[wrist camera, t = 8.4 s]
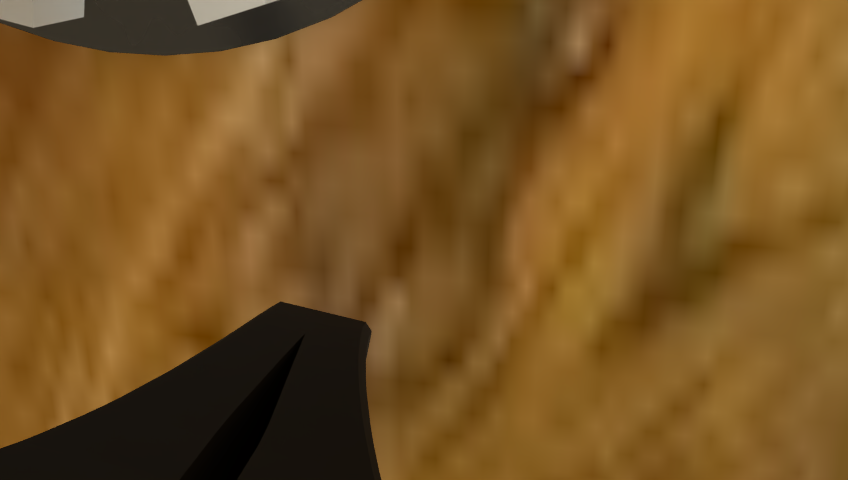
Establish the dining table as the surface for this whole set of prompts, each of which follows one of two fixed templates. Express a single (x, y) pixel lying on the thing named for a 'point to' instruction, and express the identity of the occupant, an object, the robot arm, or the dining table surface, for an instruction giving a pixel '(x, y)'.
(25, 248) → the dining table surface
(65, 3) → the sprocket wheel
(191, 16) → the wheel base
